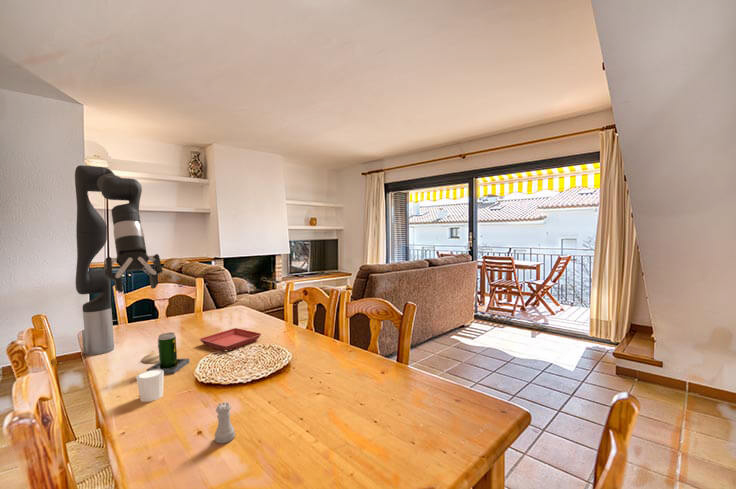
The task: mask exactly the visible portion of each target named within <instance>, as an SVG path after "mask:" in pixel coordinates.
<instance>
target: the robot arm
mask: <svg viewBox="0 0 736 489" xmlns="http://www.w3.org/2000/svg"><path fill="white" fill-rule="evenodd" d="M74 184H75V198H76V227H75V228H76V234H75V235H76V236H75V237H76V255H77V256H76V269H75V270H76V272H75V290H76V292H77V294H79V295H91V294H98V295H97V296H96V297H95V298H94V299H92V300H90V301H87V302H85V303H83V304H82V318H83V329H82V331H81V336H82V337H81V338H82V352H83V354H84V355H87V356H95V354H97V355H102V354H106V353H109V352H111V351H113V350H115V339H114V324H113V314H112V312H113V310H112V299H111V298H112V297H111V296H112V294H111V292H112V290H111V281H112V280H113V284H114V289H115V291H117V292H118V293H119V294H120V293H121V294H122V293H123V292H124V288H123V287H124V285H123V280H122V278H121V276H122V275H123V274H124V273H125V271H126V272H134V271H135V272H138V271H139V272H140V271H143V272H144V273H145V274H147V275H148V276H149V277H148V278H149V284H150V289H152V290H153V289H155V288H156V287H157V286H158V283H159V282H158V277H157V275H160V274H161V273H162V272H163V266H162V264H161V258H160V256H159V254H157V253H156V254H154V255H149V254H148V252H147V247H146V241H145V233H144V230H143V227H142V222H141V217H140V202H141V196H142V191H143V187H142V185H141V182H140V181H139V180H137V179H135V178H129V177H127V178H126V177H121V176H118V175H116V174H115V173H114V172H113V170H111V169H110V168H107V167H104V166H97V165H96V166H93V165H77V166H76V167H75V170H74ZM89 192H93V193H94V192H98V193H101V195H102V197H103V198H105V200H109V201H128V202H127V203H124V204H123V203H122V204H118V205H116V206H113V207H112V209H111V218H112V226H113V239H114V243H115V244H114V245H115V251H116V257H111V256H107V257H106V258H105V259H104V261H103V263H104V269H95V270H93V269H92V270H89V268H90V265H91V264H92V261H93V260H94V259H95V257H96V256H97V255H98V254H99V252H100V251H101V250H102V249H103V248H104V246H105V245H106V243H107V238H108V226H107V223H106V220H105V219H104V218H103V217H102V215H101V214H100V213H99V212H98V211H97V210H96V208H95V207H94V205H93V204H92V203H91V201H90V198H89V194H88V193H89ZM149 261H150V262H151V263H153V264H152V265H153V267H154V268H152V265H150V264H149V263H148V262H149ZM115 263H116V264H117V265H118V266H120V268H119V269H118V270H117V272H116V273H113V266H114V264H115Z"/></svg>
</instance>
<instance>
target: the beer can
mask: <svg viewBox="0 0 736 489" xmlns="http://www.w3.org/2000/svg"><path fill="white" fill-rule="evenodd" d="M157 344H158V352H159V361H160V368H173V367H175V366H176V365H178V364H177V359H178V350H177V337H176V334H175V332H164V333H160V334H159V335H158V338H157Z"/></svg>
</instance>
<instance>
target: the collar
mask: <svg viewBox="0 0 736 489" xmlns="http://www.w3.org/2000/svg"><path fill="white" fill-rule="evenodd" d="M188 364H190V358H177V365H176V366H175V367H173V368H160V362H158V363H154V364H152V365H151V366H150V367H149V368H146V371H149V370H155V369H161V370H163V371H164V375H165V374H166V375H167V374H173V375H174V374H175V373H177V372H178V371H180V370H181V369H183V368H184V367H185V366H186V365H188Z"/></svg>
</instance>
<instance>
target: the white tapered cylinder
mask: <svg viewBox="0 0 736 489" xmlns="http://www.w3.org/2000/svg"><path fill="white" fill-rule="evenodd" d="M164 375H165V374H164V371H163V370H161V369H155V370H149V371H147V370H146V371H143V372H141V373H139V374H137V375H136V377H135V378H136V382H137V383H136V385H137V388H138V394H139V399H140V402H142V403H148V402H154V401H156V400H159V399H161V397H163V396H164V378H165V377H164Z"/></svg>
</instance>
